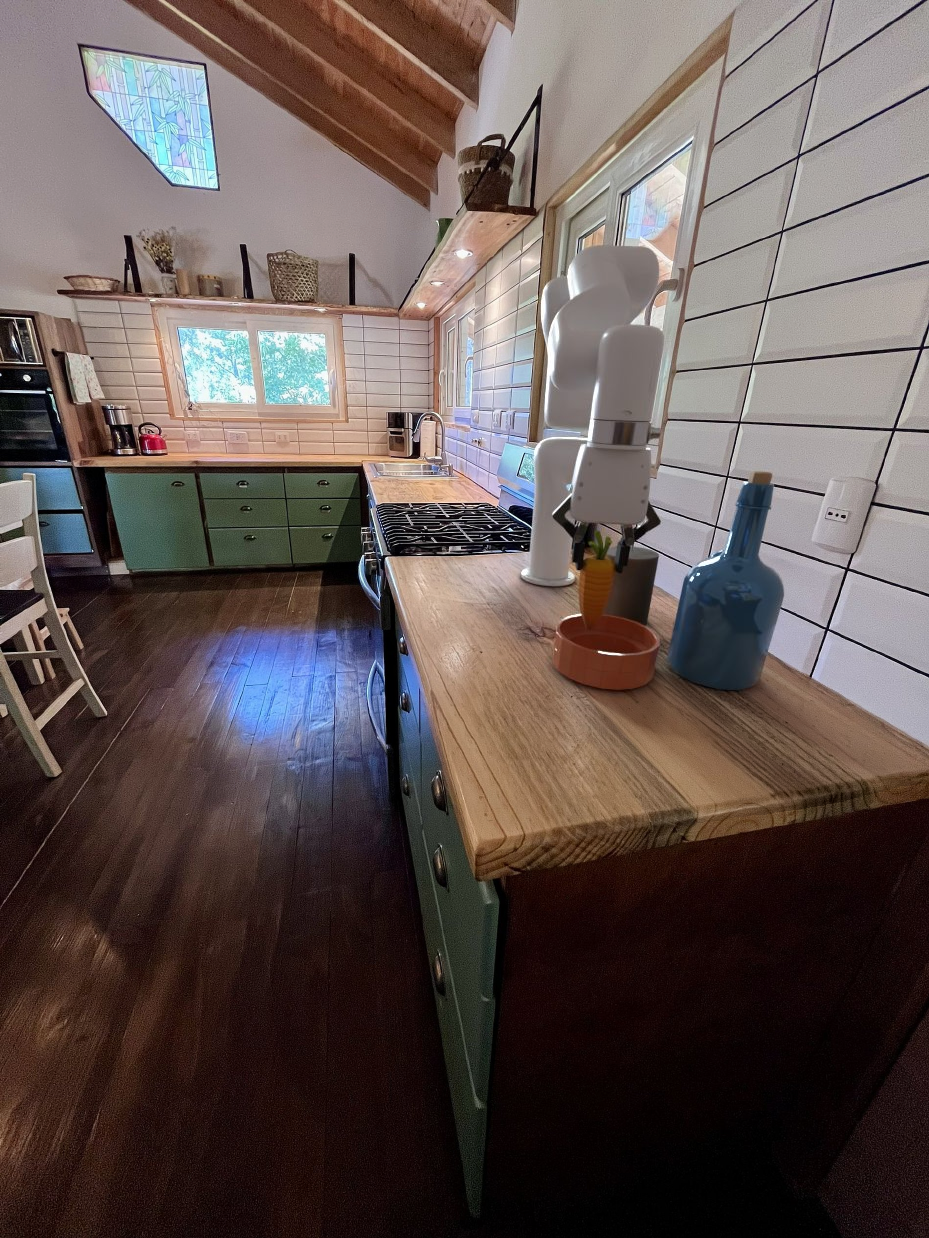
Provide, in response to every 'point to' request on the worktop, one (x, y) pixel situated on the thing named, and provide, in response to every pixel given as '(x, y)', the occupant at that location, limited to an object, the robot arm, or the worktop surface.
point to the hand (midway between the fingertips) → (598, 567)
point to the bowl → (605, 652)
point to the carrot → (596, 582)
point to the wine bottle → (730, 602)
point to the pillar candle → (633, 585)
